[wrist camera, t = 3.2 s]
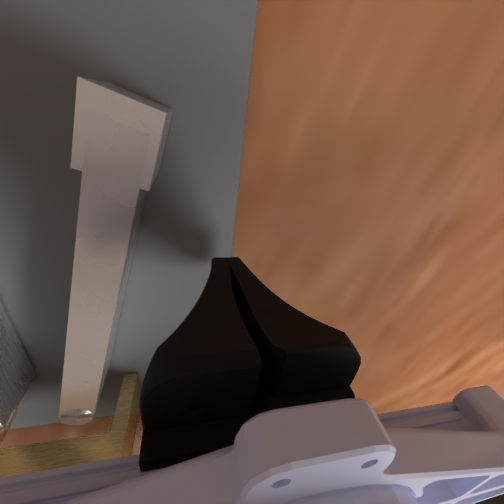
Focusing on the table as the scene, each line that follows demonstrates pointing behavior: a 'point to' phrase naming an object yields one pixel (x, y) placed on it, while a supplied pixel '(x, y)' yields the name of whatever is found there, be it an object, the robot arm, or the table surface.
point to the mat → (69, 180)
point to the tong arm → (105, 228)
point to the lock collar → (79, 440)
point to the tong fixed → (12, 370)
